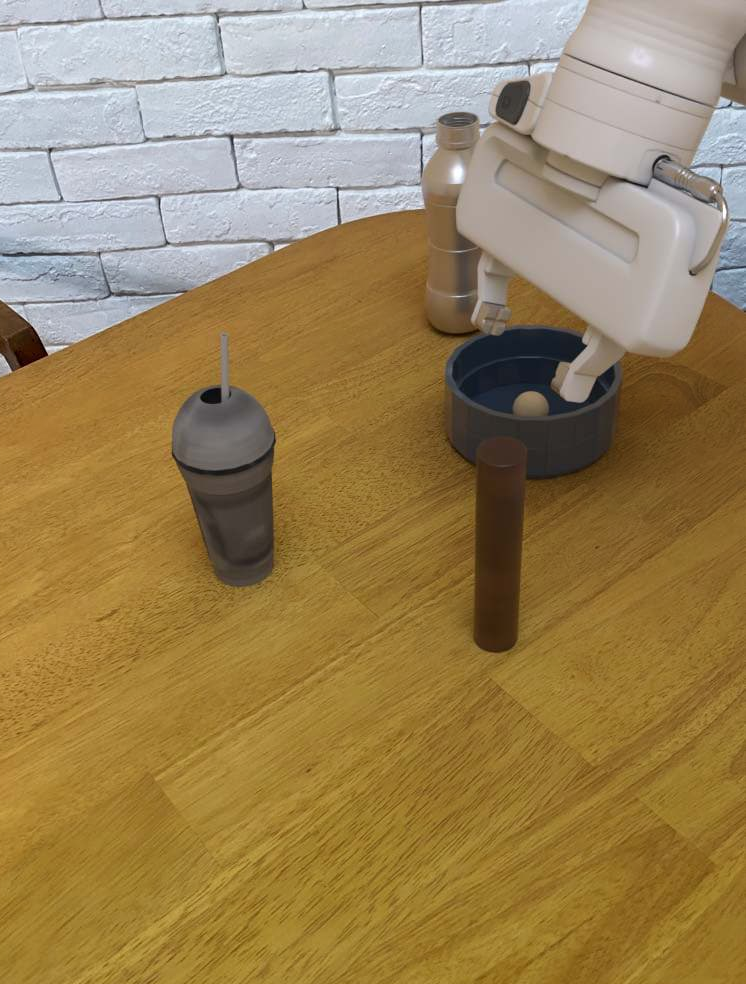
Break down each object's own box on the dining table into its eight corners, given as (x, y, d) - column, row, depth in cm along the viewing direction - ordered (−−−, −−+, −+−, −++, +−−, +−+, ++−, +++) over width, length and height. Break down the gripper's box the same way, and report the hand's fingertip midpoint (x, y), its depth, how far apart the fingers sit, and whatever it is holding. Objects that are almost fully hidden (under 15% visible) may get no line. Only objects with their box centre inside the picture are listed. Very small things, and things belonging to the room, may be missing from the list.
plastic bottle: (506, 325, 109) (513, 119, 96) (451, 350, 106) (450, 141, 93) (464, 300, 113) (465, 99, 100) (410, 323, 110) (403, 119, 97)
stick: (509, 617, 79) (517, 432, 69) (523, 648, 77) (533, 461, 67) (468, 626, 79) (470, 440, 68) (480, 656, 77) (484, 469, 66)
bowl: (579, 372, 102) (584, 313, 98) (642, 464, 91) (650, 402, 87) (427, 398, 100) (426, 340, 97) (472, 495, 90) (473, 433, 86)
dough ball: (541, 411, 97) (542, 381, 95) (552, 431, 95) (554, 401, 93) (507, 417, 96) (508, 387, 94) (518, 437, 94) (519, 407, 92)
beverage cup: (202, 535, 88) (158, 309, 75) (294, 532, 88) (266, 304, 75) (189, 600, 83) (140, 368, 70) (288, 598, 82) (257, 364, 69)
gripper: (785, 204, 56) (666, 447, 63) (560, 100, 71) (483, 305, 78) (695, 180, 53) (580, 438, 59) (480, 76, 68) (406, 291, 75)
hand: (523, 361), depth 69 cm, fingers open, 8 cm apart
